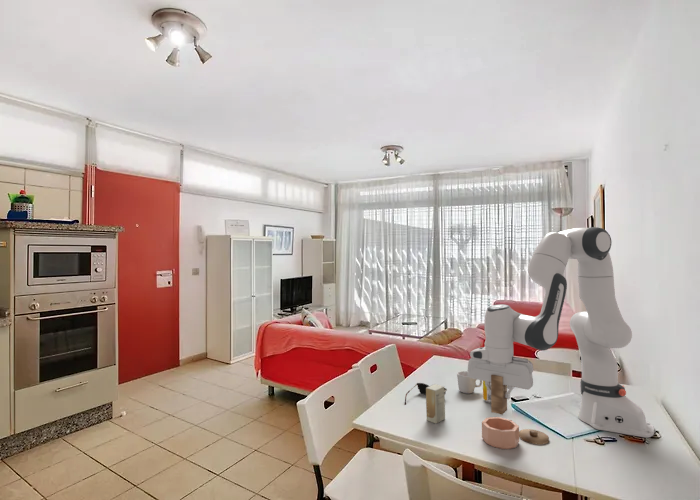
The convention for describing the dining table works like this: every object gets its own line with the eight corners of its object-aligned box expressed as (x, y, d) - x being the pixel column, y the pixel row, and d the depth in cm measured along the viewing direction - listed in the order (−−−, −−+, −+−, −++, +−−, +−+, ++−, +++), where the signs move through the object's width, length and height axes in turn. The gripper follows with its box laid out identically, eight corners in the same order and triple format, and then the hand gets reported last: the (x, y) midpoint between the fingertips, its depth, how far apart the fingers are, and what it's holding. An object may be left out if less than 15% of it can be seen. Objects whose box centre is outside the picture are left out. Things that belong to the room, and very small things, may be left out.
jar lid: (551, 437, 127) (551, 430, 127) (545, 448, 119) (545, 440, 119) (522, 430, 132) (522, 423, 132) (515, 440, 125) (515, 432, 125)
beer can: (497, 398, 160) (497, 363, 161) (499, 404, 154) (498, 367, 155) (482, 397, 162) (482, 362, 162) (483, 402, 156) (483, 366, 156)
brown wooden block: (507, 409, 125) (506, 373, 125) (502, 414, 121) (502, 377, 121) (496, 407, 127) (496, 371, 127) (491, 412, 123) (491, 375, 123)
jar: (522, 439, 125) (521, 422, 125) (512, 452, 116) (512, 434, 116) (489, 430, 131) (489, 414, 131) (478, 442, 123) (478, 425, 123)
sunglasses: (447, 399, 161) (446, 387, 161) (433, 414, 148) (432, 402, 148) (417, 393, 169) (416, 382, 169) (401, 407, 156) (401, 395, 156)
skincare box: (435, 415, 144) (435, 383, 144) (445, 419, 141) (445, 386, 141) (425, 420, 140) (425, 387, 140) (435, 424, 137) (435, 390, 137)
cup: (479, 389, 172) (479, 371, 173) (484, 395, 164) (484, 376, 165) (455, 388, 173) (455, 370, 174) (459, 394, 166) (458, 376, 166)
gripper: (535, 357, 120) (535, 401, 120) (472, 348, 133) (472, 387, 133) (530, 362, 115) (530, 407, 115) (465, 351, 128) (465, 392, 128)
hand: (499, 396), depth 124 cm, fingers closed on brown wooden block, 3 cm apart
